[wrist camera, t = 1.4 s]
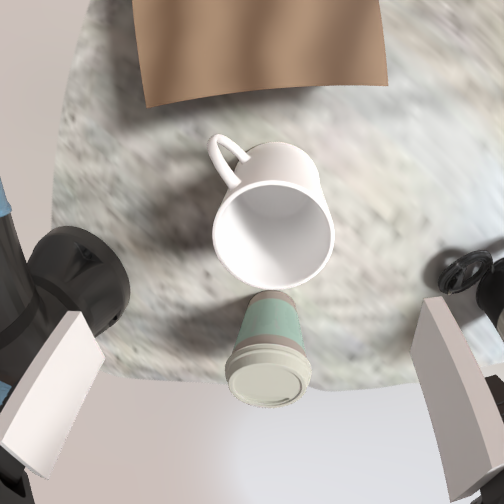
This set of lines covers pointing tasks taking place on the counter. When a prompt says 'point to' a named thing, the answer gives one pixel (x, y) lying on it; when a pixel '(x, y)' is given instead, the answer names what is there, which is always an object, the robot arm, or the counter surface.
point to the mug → (271, 215)
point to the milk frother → (489, 291)
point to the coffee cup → (269, 354)
